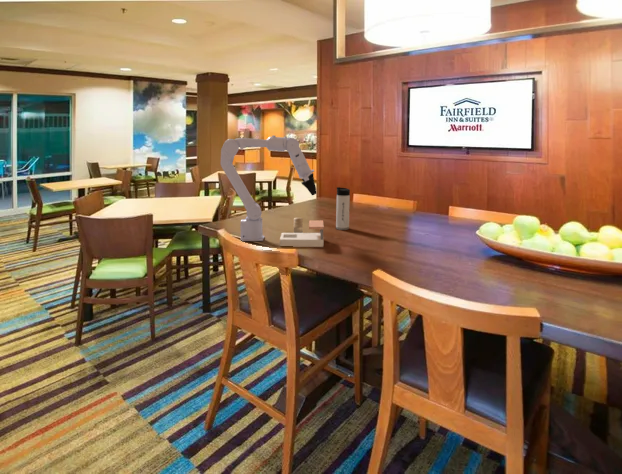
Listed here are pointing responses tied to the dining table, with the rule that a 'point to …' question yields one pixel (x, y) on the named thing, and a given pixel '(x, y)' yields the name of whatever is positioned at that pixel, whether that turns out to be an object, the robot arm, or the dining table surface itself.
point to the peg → (298, 225)
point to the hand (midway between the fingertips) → (314, 192)
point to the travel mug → (342, 208)
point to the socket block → (304, 237)
